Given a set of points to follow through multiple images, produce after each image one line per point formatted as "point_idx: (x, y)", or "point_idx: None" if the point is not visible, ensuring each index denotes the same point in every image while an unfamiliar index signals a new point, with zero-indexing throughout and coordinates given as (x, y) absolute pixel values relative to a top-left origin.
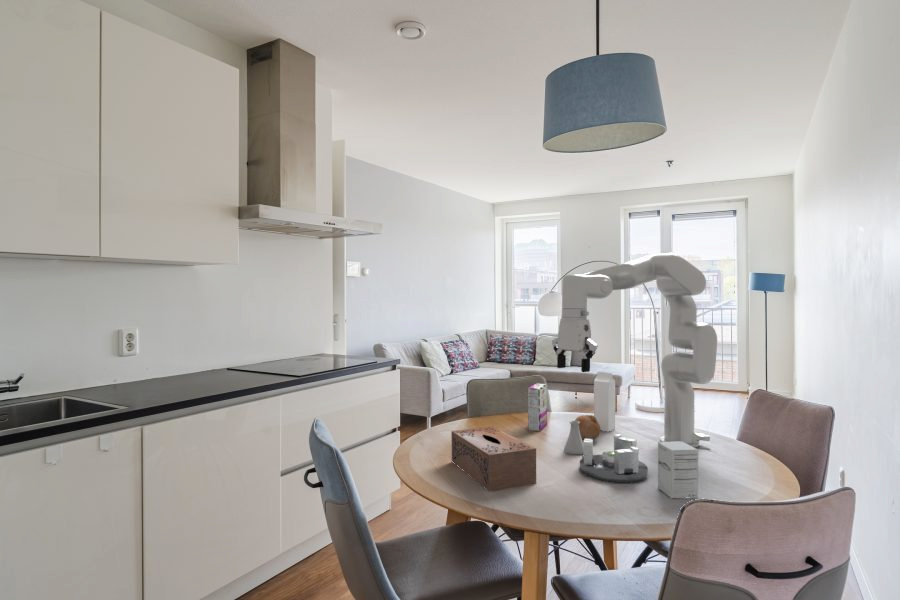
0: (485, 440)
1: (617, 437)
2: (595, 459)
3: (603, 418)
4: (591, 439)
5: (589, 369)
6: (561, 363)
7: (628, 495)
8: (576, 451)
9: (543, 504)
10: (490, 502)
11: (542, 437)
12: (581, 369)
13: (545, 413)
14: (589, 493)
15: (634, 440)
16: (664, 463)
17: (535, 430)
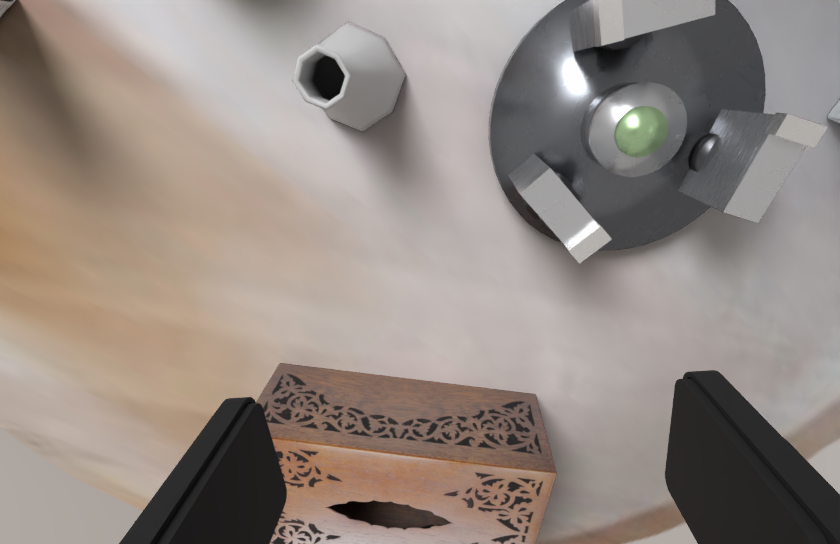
0: (393, 533)
1: (622, 38)
2: (537, 141)
3: None
4: (552, 180)
5: (725, 388)
6: (254, 510)
7: (773, 249)
8: (390, 104)
9: (643, 453)
10: (558, 522)
11: (118, 59)
12: (681, 506)
13: None
14: (679, 329)
15: None
16: None
17: (3, 14)
